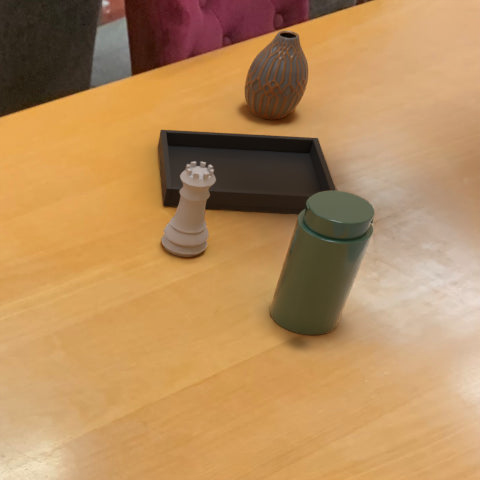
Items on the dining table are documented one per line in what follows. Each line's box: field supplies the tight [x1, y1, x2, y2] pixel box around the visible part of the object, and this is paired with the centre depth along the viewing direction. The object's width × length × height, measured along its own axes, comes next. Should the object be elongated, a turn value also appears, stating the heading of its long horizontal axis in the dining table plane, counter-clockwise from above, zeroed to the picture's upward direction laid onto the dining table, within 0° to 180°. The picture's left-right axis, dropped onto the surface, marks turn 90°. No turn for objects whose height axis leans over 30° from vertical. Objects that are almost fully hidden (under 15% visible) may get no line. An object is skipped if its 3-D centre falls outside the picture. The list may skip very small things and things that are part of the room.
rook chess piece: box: [160, 161, 216, 258], centre depth 84 cm, size 4×4×8 cm
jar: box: [269, 190, 376, 336], centre depth 76 cm, size 6×6×10 cm
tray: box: [157, 129, 337, 215], centre depth 95 cm, size 17×13×2 cm
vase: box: [244, 30, 309, 120], centre depth 104 cm, size 7×7×9 cm
